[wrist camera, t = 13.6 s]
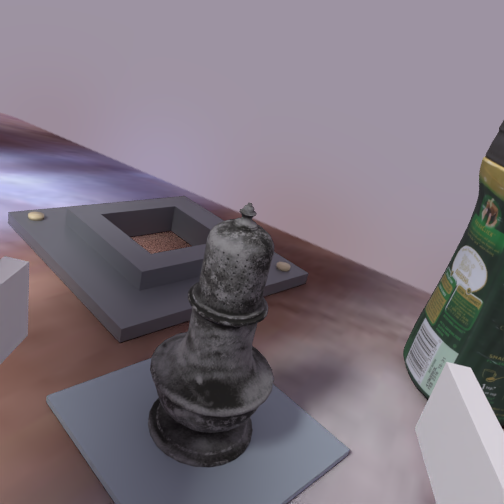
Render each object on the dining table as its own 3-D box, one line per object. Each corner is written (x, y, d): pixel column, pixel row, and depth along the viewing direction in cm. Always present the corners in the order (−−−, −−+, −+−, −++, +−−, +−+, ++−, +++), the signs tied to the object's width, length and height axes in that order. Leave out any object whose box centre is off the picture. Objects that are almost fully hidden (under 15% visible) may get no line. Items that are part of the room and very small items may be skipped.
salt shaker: (209, 369, 28) (253, 174, 23) (281, 437, 24) (350, 224, 19) (118, 408, 24) (146, 181, 19) (188, 496, 20) (246, 246, 15)
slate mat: (46, 401, 24) (46, 395, 24) (214, 339, 31) (215, 334, 31) (174, 591, 17) (176, 585, 17) (347, 455, 25) (349, 449, 25)
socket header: (8, 223, 40) (8, 195, 39) (182, 204, 52) (186, 182, 51) (119, 342, 29) (123, 308, 28) (305, 283, 42) (313, 257, 40)
